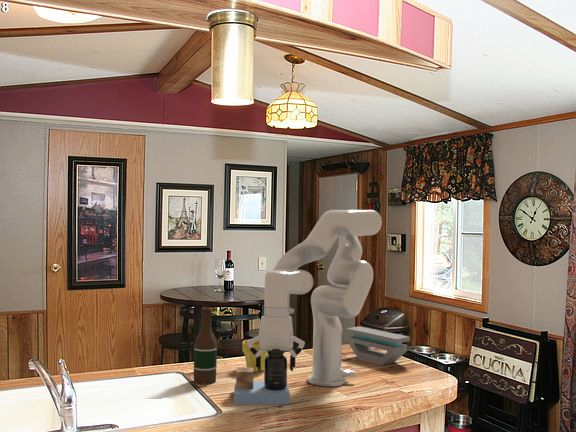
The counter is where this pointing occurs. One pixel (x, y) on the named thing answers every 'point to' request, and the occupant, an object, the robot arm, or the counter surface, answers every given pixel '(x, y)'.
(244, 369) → the block
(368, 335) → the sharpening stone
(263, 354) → the plant pot
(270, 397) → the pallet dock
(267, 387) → the supplement bottle
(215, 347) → the beer bottle
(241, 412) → the counter surface
